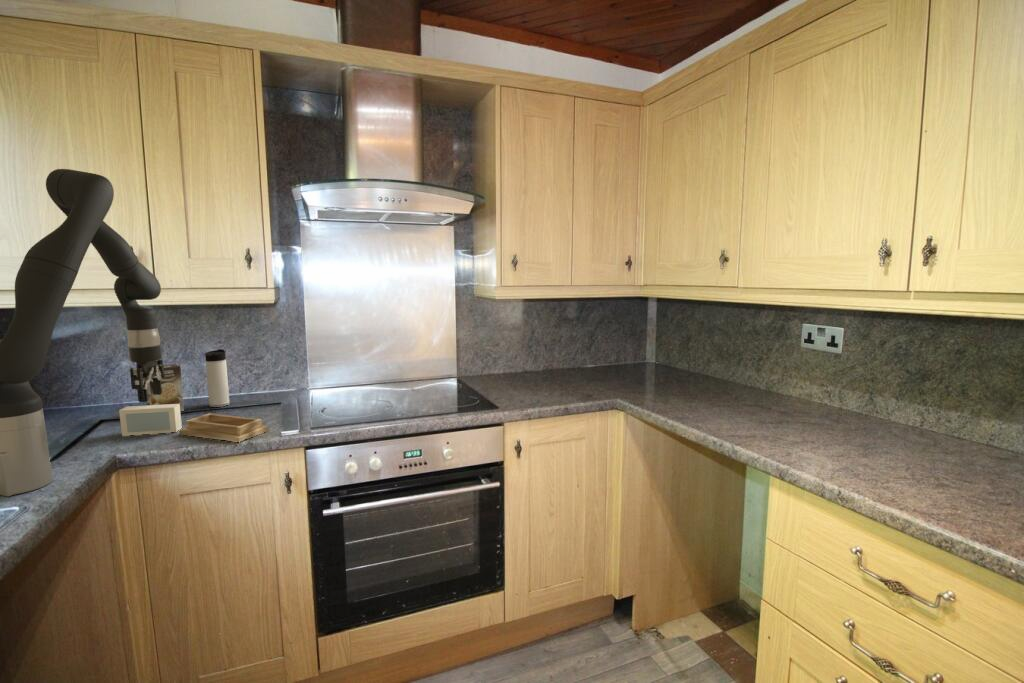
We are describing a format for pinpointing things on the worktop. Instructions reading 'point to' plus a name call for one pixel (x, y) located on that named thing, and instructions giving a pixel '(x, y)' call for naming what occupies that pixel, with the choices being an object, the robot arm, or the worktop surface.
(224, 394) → the travel mug
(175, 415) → the cream rectangular block
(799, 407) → the worktop surface
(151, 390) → the coffee box
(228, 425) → the wooden tray
